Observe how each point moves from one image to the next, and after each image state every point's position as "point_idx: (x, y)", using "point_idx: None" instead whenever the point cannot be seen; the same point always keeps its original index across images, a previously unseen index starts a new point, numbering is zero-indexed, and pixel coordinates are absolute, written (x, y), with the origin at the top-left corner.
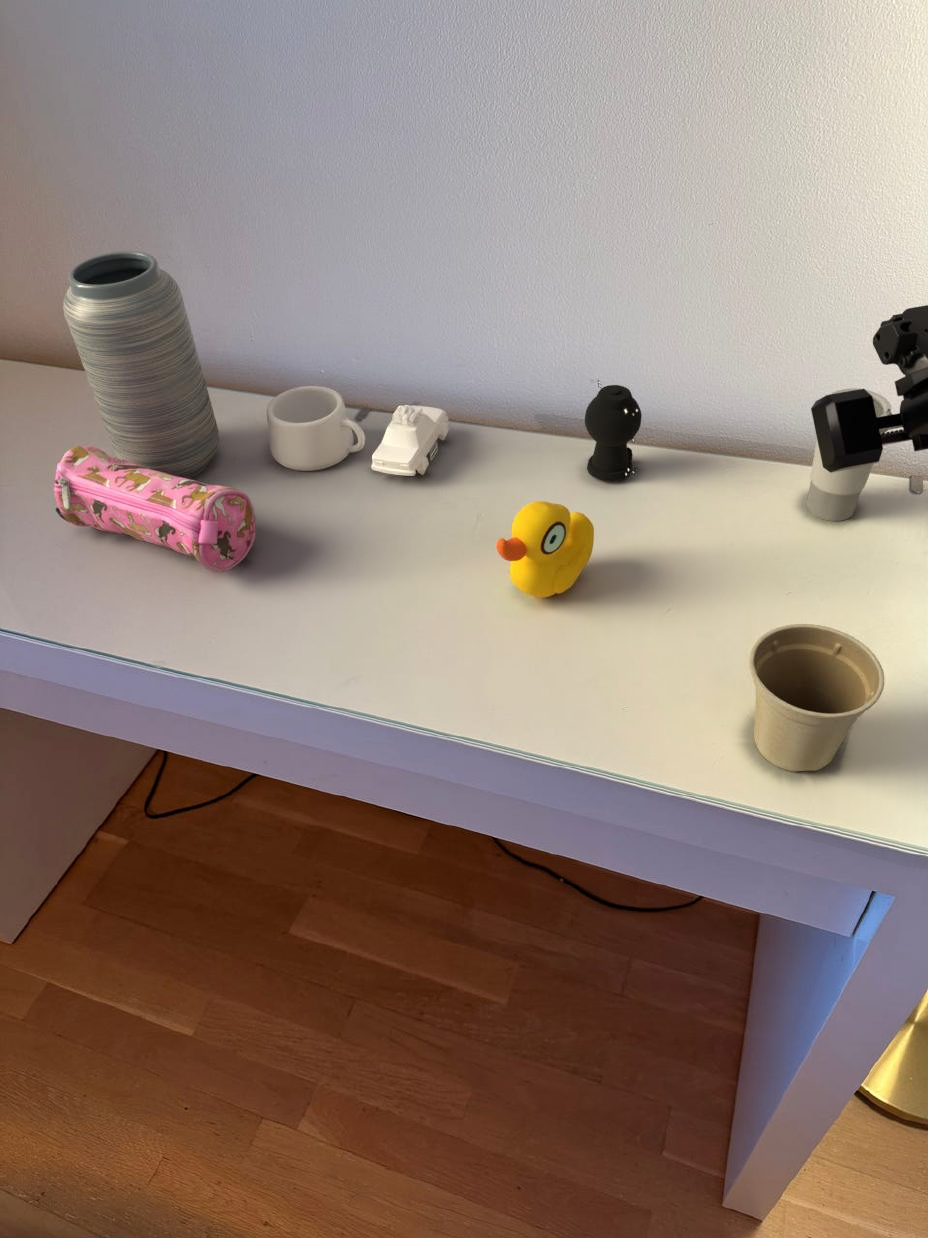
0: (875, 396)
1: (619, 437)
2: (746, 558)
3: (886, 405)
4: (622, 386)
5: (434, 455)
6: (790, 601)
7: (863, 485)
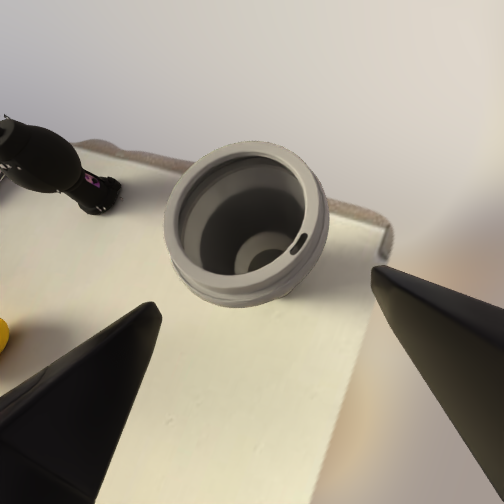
0: (294, 173)
1: (39, 190)
2: (155, 346)
3: (306, 216)
4: (12, 122)
5: (4, 175)
6: (165, 436)
7: (289, 291)
